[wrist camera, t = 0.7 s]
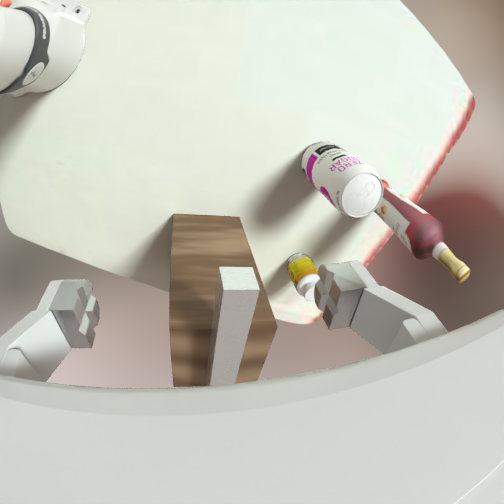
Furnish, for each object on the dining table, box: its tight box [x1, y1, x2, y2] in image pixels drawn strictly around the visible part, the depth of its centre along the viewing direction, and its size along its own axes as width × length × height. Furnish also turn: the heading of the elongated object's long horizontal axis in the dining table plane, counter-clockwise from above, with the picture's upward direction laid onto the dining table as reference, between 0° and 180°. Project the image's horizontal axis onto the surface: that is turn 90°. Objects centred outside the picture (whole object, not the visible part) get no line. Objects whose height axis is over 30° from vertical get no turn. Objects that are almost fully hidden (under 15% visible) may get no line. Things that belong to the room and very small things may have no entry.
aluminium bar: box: [206, 267, 260, 386], centre depth 30 cm, size 20×3×3 cm, turn 170°
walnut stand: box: [170, 214, 277, 387], centre depth 44 cm, size 13×12×26 cm
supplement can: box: [301, 141, 383, 218], centre depth 43 cm, size 8×8×15 cm
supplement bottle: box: [286, 253, 320, 301], centre depth 58 cm, size 6×6×10 cm
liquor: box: [374, 180, 470, 283], centre depth 44 cm, size 7×7×28 cm
